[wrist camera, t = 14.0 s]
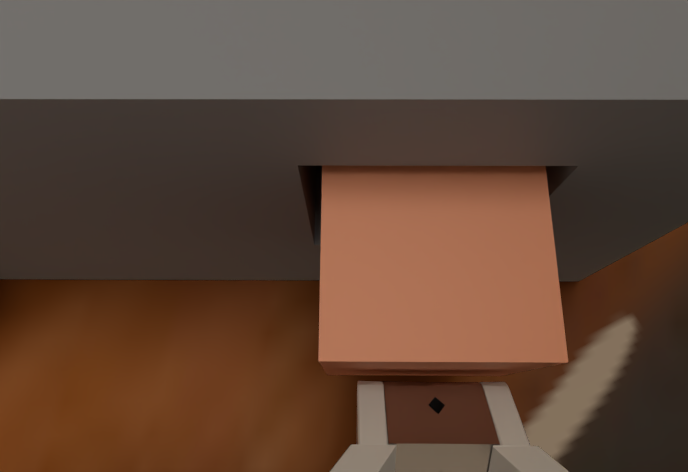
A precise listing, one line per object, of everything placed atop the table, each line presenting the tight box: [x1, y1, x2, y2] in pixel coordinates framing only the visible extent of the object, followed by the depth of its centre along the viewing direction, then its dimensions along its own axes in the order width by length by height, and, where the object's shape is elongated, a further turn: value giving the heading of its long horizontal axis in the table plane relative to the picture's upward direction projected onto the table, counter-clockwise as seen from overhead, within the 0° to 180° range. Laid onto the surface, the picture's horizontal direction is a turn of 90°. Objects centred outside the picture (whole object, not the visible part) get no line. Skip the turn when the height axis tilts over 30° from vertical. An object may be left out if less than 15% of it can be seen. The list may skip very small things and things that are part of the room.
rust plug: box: [318, 165, 568, 376], centre depth 12 cm, size 11×4×4 cm, turn 0°
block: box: [0, 0, 688, 281], centre depth 14 cm, size 10×26×11 cm, turn 90°
